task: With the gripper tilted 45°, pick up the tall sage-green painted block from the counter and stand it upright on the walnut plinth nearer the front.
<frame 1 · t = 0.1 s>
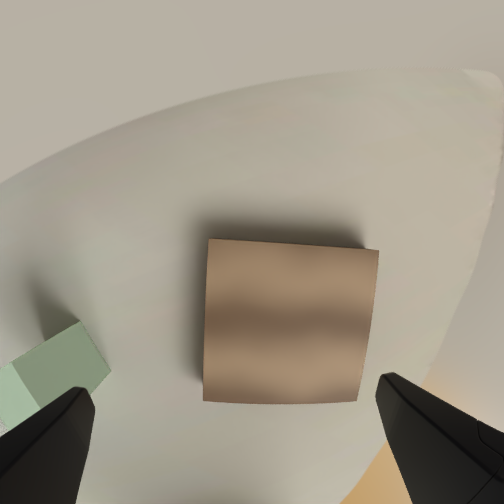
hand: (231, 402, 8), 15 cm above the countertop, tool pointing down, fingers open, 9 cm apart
walnut plinth: (285, 321, 24), on the countertop
sage block: (76, 356, 23), on the countertop
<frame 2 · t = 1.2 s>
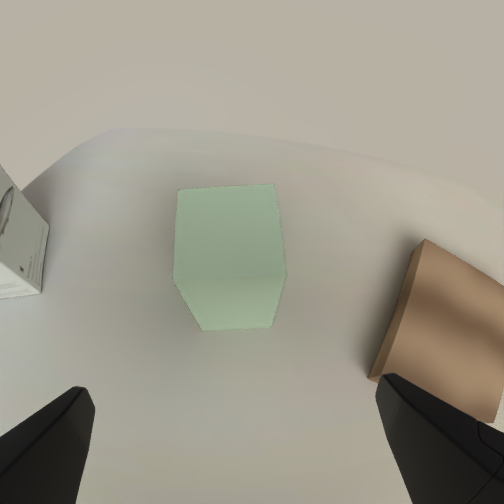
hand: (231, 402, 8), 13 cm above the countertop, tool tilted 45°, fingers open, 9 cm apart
supplement box: (20, 264, 25), on the countertop
walnut plinth: (449, 338, 22), on the countertop
sage block: (235, 297, 24), on the countertop
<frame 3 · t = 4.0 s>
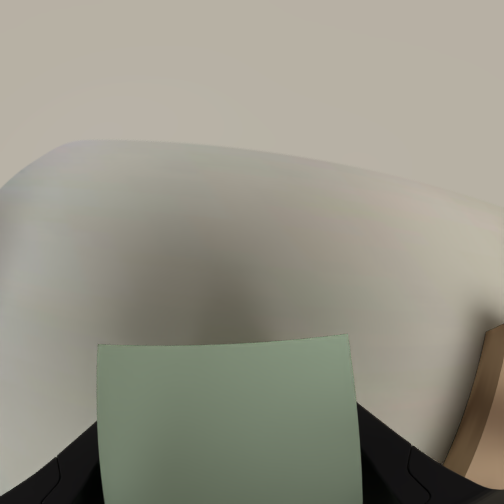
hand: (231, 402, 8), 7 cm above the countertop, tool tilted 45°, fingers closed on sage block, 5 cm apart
sage block: (239, 428, 14), on the countertop, touching gripper
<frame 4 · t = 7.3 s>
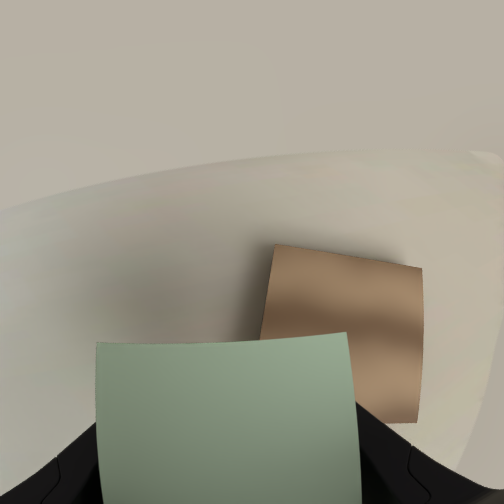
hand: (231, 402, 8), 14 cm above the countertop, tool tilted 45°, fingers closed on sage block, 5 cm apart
walnut plinth: (339, 341, 22), on the countertop
sage block: (239, 427, 14), point 7 cm above the countertop, touching gripper
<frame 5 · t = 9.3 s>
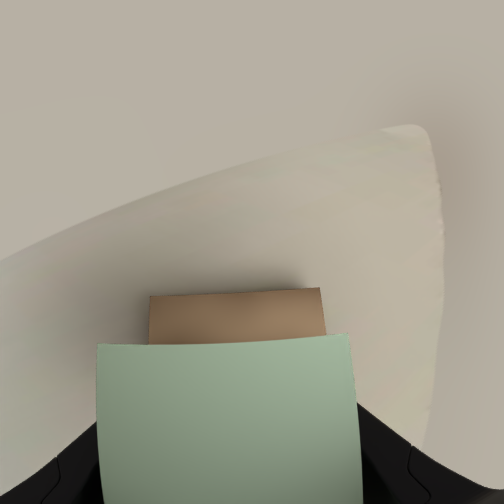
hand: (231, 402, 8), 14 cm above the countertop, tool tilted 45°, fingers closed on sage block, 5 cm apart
walnut plinth: (239, 382, 21), on the countertop
sage block: (239, 427, 13), point 7 cm above the countertop, touching gripper
when the fingers open (10 cm above the countertop, at t = 11.1 s): sage block stays where it is, resting on walnut plinth.
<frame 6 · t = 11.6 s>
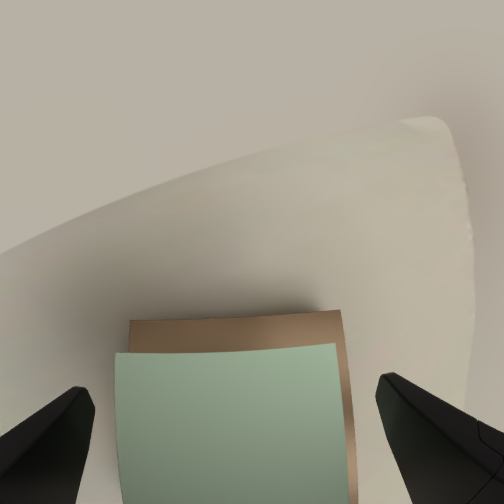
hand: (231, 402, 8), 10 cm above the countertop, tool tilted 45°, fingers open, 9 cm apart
walnut plinth: (241, 423, 17), on the countertop
sage block: (240, 426, 14), point 2 cm above the countertop, touching walnut plinth
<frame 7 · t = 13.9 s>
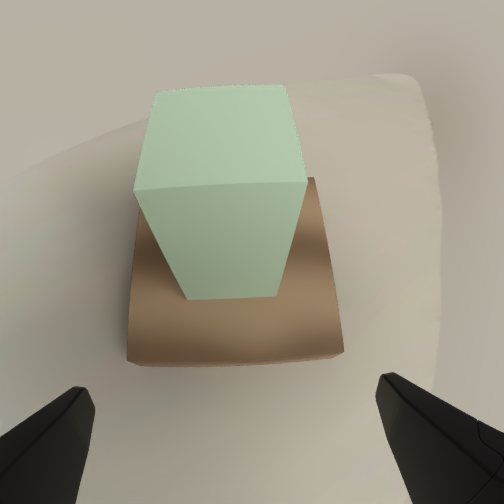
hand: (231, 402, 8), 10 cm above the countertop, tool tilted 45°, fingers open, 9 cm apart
walnut plinth: (231, 274, 21), on the countertop
sage block: (230, 258, 19), point 2 cm above the countertop, touching walnut plinth
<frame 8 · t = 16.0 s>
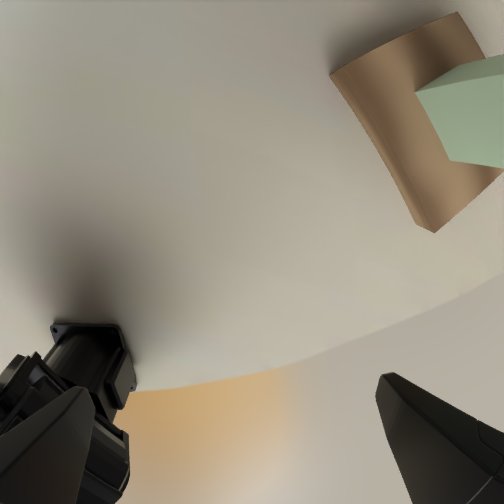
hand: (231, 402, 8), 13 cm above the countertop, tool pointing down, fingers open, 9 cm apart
walnut plinth: (435, 113, 18), on the countertop
sage block: (456, 110, 16), point 2 cm above the countertop, touching walnut plinth
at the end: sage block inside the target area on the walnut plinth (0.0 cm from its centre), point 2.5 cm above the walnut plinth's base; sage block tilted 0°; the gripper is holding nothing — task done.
